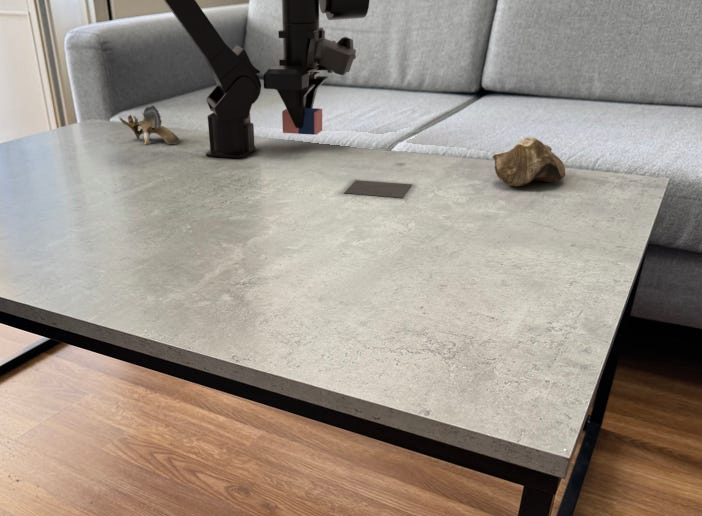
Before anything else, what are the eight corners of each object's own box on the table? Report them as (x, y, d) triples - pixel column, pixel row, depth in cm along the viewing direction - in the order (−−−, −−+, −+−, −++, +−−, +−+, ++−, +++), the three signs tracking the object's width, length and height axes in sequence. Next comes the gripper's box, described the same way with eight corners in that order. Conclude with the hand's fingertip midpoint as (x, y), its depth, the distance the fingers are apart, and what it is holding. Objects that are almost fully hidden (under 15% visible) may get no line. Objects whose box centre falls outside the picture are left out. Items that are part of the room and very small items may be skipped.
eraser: (282, 133, 117) (281, 111, 115) (288, 129, 119) (288, 107, 117) (316, 134, 115) (316, 112, 113) (322, 130, 117) (322, 108, 115)
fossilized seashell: (554, 153, 99) (483, 168, 100) (563, 118, 93) (488, 134, 94) (571, 194, 96) (497, 208, 96) (582, 160, 90) (504, 176, 91)
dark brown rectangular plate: (344, 193, 95) (344, 192, 95) (355, 180, 100) (355, 180, 100) (402, 198, 93) (402, 197, 92) (411, 185, 97) (411, 184, 97)
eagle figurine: (116, 140, 122) (158, 133, 117) (119, 100, 122) (161, 92, 118) (144, 155, 128) (184, 149, 124) (146, 117, 129) (187, 110, 125)
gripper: (333, 28, 98) (332, 141, 106) (366, 15, 113) (363, 115, 121) (259, 29, 102) (264, 138, 110) (301, 16, 117) (303, 113, 125)
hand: (302, 125), depth 116 cm, fingers closed on eraser, 3 cm apart
